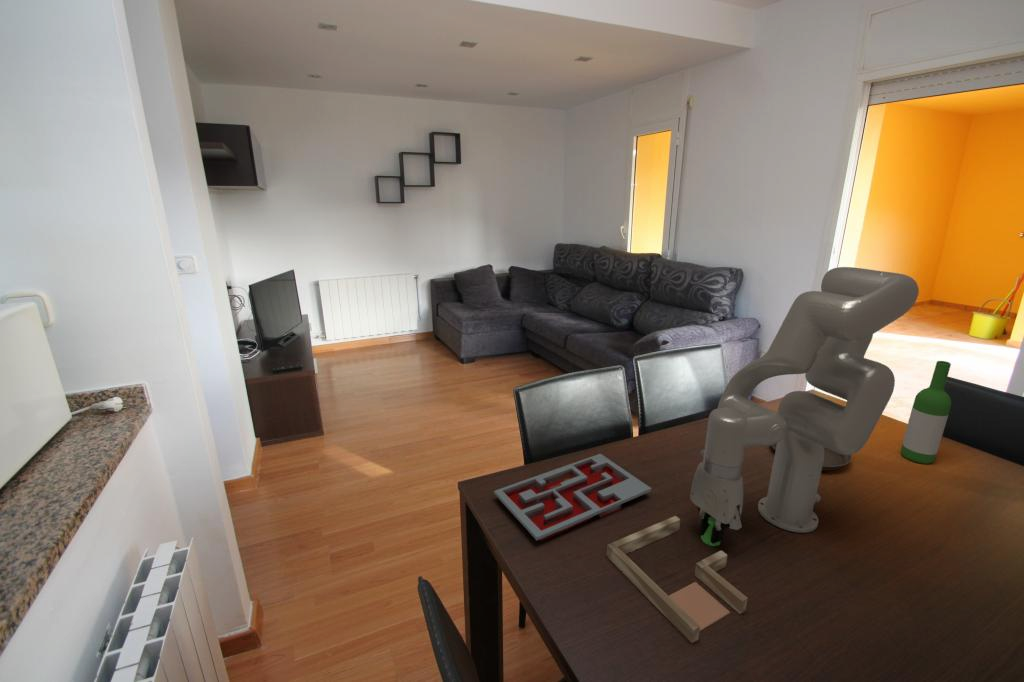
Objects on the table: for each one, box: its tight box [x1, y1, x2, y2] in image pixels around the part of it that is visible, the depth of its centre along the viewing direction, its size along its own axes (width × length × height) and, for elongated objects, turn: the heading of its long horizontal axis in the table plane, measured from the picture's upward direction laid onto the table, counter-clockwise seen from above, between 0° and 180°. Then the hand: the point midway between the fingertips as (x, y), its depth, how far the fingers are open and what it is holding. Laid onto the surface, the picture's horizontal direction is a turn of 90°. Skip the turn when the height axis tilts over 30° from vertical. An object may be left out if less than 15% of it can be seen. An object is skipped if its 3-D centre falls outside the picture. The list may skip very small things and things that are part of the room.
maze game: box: [493, 453, 652, 542], centre depth 117 cm, size 35×20×3 cm, turn 120°
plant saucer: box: [770, 443, 853, 472], centre depth 137 cm, size 21×21×3 cm
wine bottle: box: [900, 360, 952, 465], centre depth 131 cm, size 8×8×30 cm
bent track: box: [606, 515, 749, 644], centre depth 93 cm, size 20×23×3 cm
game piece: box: [700, 517, 722, 547], centre depth 103 cm, size 4×4×6 cm
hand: (711, 536), depth 103 cm, fingers closed on game piece, 2 cm apart
